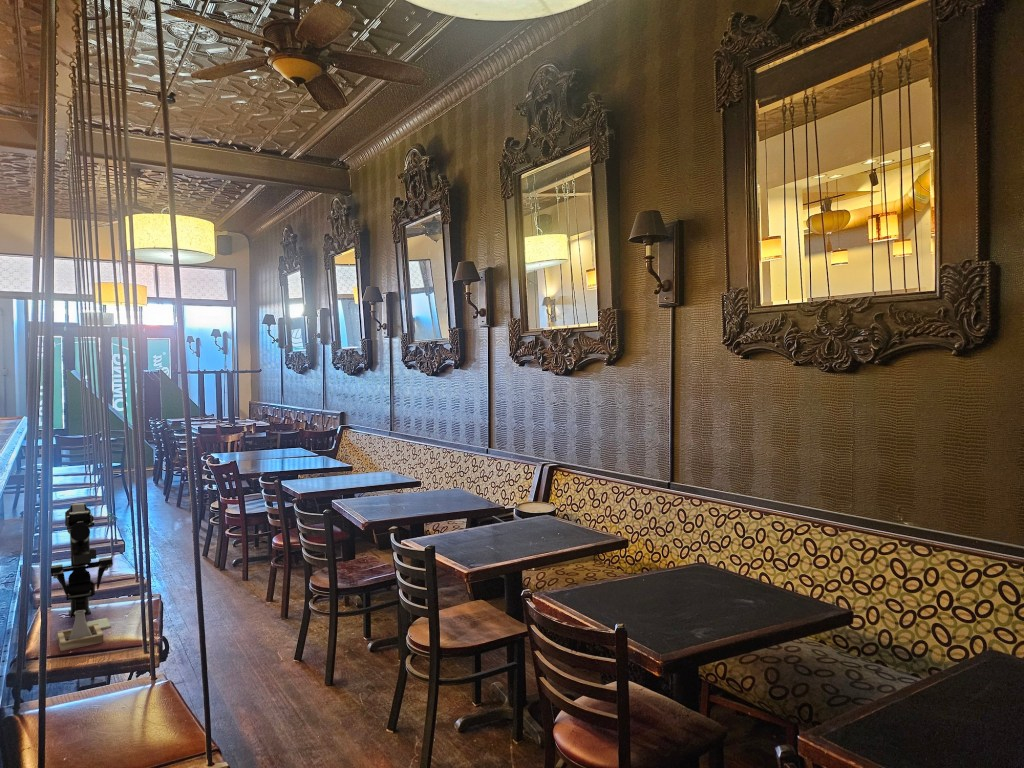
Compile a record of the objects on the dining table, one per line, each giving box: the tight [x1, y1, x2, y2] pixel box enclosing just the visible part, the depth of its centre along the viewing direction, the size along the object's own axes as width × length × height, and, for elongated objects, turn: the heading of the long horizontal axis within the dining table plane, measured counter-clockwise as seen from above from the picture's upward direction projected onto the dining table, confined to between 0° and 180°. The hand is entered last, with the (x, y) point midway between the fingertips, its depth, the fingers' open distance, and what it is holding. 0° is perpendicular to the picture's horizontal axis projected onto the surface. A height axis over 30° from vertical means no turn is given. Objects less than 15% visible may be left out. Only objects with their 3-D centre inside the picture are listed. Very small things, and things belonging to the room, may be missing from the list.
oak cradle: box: [56, 624, 105, 652], centre depth 230 cm, size 12×12×2 cm
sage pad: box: [86, 617, 112, 630], centre depth 242 cm, size 9×9×1 cm
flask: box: [67, 610, 93, 641], centre depth 230 cm, size 7×7×10 cm
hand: (82, 591), depth 235 cm, fingers open, 9 cm apart
